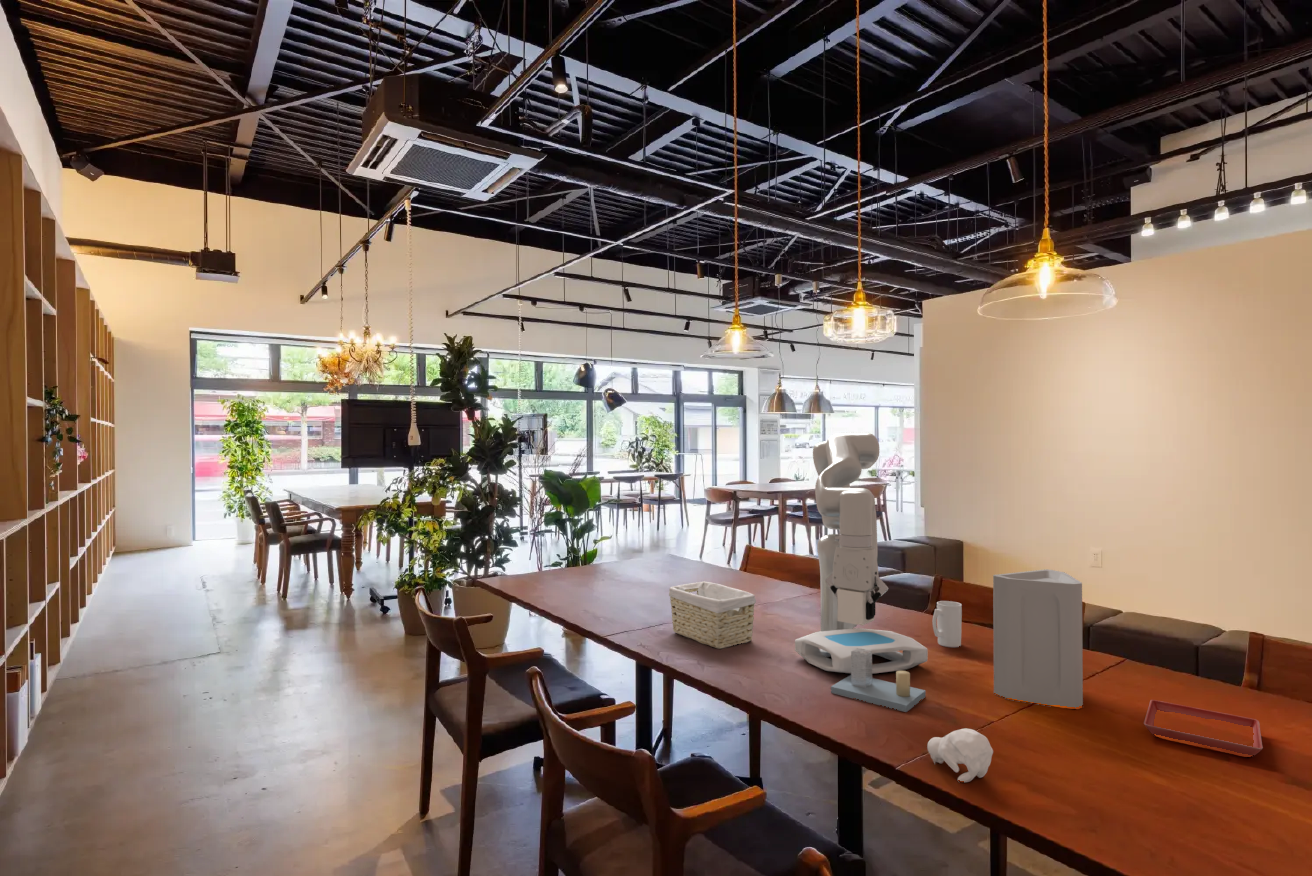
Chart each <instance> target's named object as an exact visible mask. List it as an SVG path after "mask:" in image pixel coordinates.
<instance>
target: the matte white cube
mask: <svg viewBox="0 0 1312 876" xmlns="http://www.w3.org/2000/svg"><path fill="white" fill-rule="evenodd" d="M867 602H868V600H867V597H866V592H862V591H855V590H848V589H842V588H840V589H837V618H838V621H841V622H846V623H852V624H857V625H859V626H865V625H867V624H869V623H871V622H874V621H875V617H874V618H872V619H870V620H867V619H866V603H867Z"/></svg>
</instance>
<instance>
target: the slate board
mask: <svg viewBox="0 0 1312 876" xmlns="http://www.w3.org/2000/svg"><path fill="white" fill-rule="evenodd" d="M895 678H896V679H895V682H891V681H886V680H883V679H879V678H874V677H872V685H870V686H869V687H867V688H862V687H858V686H854V685H851V674H849V675H847V677H845V678H843V679H841V680H840V681H838V682H836V683H835V684H832V685H831V686H830V693H831V694H834V695H838V696H842V697H846V698H850V699H853V698H856V699H855V700H857V699H859V700H858V701H861V700H863V701H862V702H865V701H866V702H865V703H868V704H872V703H873V704H874V705H876V706H880V705H882V706H881V707H884V706H886V707H885V708H888V707H889V709H892V708H894V709H893V710H896V709H897V710H896V711H900V712H905V713H907V712H908V711H911V709H912V708H914V707H915V706H916V705H917V704H918V703H920V702H921V701H922V700H924V698H926V697H927V695H926V694H927V693H926V690H925V689H921V688H917V687H913V686H911V673H910V672H909V671H906V670H897V671H895ZM921 699H922V700H921ZM920 700H921V701H920ZM919 701H920V702H919ZM914 705H915V706H914Z"/></svg>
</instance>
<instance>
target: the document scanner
mask: <svg viewBox="0 0 1312 876" xmlns="http://www.w3.org/2000/svg"><path fill="white" fill-rule="evenodd" d="M857 648H860V649H865V650H870V651H872V655H875V656H877V657H882V658H884V659H887V660H889V661H886V662H881V663H872V675H873V674H879V673H881V674H882V673H888V672H896V671H906V670H910V669H911V668H914V667H917V666H918V665H921V664H924V663H925V662H928V657H929V656H928V654H929V653H928V648H927V647H926V646H924V645H922V644H921V643H920V642H918V641H917V640H915V639H914V638H913V637H911V636H906V635H904V634H900V633H898V632H896V631H891V630H884V629H883V630H881V629H871V628H859V627H858V628H857V627H856V628H855V627H854V628H853V629H843V630H832V631H822V632H818V631H816V632H812V633H810V634H807V635H803V636H801V637H798V638H795V640H794V651H795V652H797V653H798V654H799V655H800V656H801V657H802V658H803V659H804V660H805V661H806V662H807V663H808V664H811V665H813V666H815V667H817V668H819V669H821V670H824V671H826V672H835V673H842V674H843V673H845V674H851V651H853V650H855V649H857ZM900 651H902V652H900ZM829 657H831V658H829Z"/></svg>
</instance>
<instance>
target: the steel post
mask: <svg viewBox="0 0 1312 876" xmlns="http://www.w3.org/2000/svg"><path fill="white" fill-rule="evenodd" d="M872 664H873V654H872V651H870V650H865V649H860V648H857V649H855V650H853V651H851V673H850V675H851V685H854V686H858V687H862V688H867V687H869V686H870V685H872V678H873V674H872Z"/></svg>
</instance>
